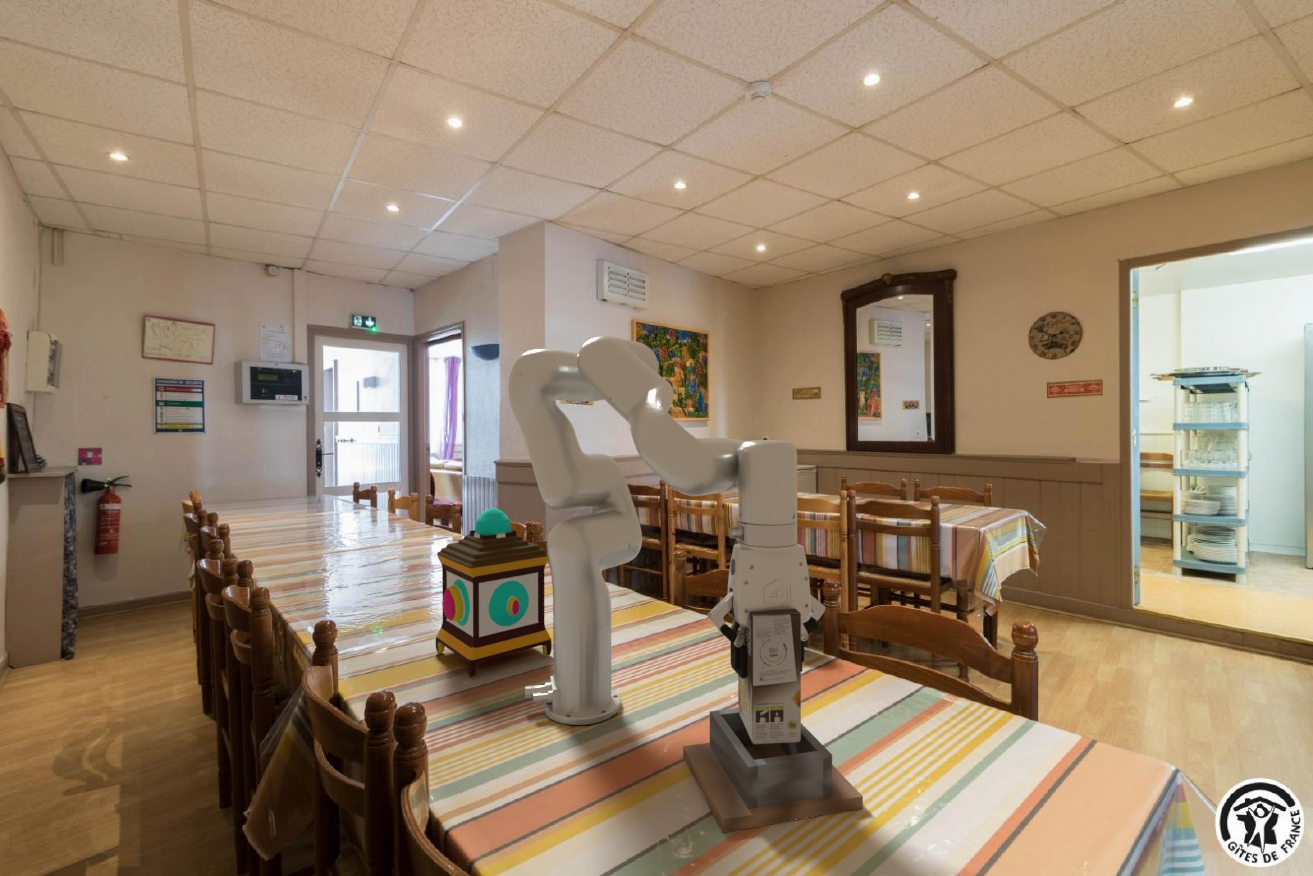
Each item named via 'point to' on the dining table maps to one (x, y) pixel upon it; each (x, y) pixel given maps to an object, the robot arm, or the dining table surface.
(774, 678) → the coffee box
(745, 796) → the post socket
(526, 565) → the decorative lantern
